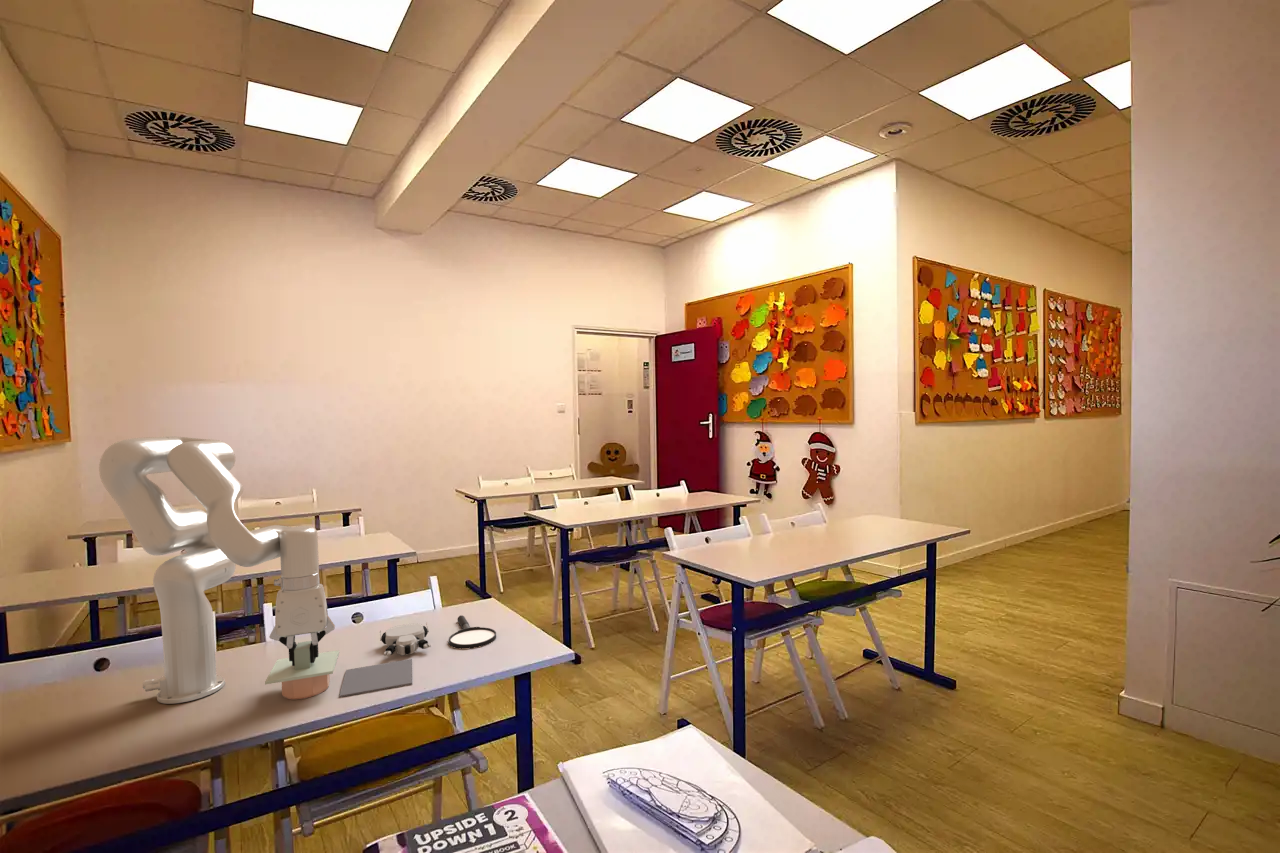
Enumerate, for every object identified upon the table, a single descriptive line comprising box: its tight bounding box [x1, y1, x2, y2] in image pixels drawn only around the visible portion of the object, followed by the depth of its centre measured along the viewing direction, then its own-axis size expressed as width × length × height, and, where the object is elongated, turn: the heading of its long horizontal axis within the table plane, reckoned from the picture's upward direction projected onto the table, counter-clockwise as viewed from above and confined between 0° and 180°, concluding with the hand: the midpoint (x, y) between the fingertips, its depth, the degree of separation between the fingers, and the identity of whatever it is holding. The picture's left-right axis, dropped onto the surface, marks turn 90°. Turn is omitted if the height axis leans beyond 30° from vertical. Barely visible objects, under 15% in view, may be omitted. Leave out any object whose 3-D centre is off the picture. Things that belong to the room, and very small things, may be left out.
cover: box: [264, 640, 340, 685], centre depth 139 cm, size 13×13×5 cm
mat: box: [339, 658, 413, 698], centre depth 144 cm, size 15×15×1 cm
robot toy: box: [379, 621, 431, 657], centre depth 162 cm, size 12×4×15 cm
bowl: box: [281, 674, 331, 700], centre depth 139 cm, size 9×9×5 cm
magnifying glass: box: [448, 614, 497, 650], centre depth 171 cm, size 12×24×2 cm, turn 26°
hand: (304, 661), depth 139 cm, fingers closed on cover, 3 cm apart
